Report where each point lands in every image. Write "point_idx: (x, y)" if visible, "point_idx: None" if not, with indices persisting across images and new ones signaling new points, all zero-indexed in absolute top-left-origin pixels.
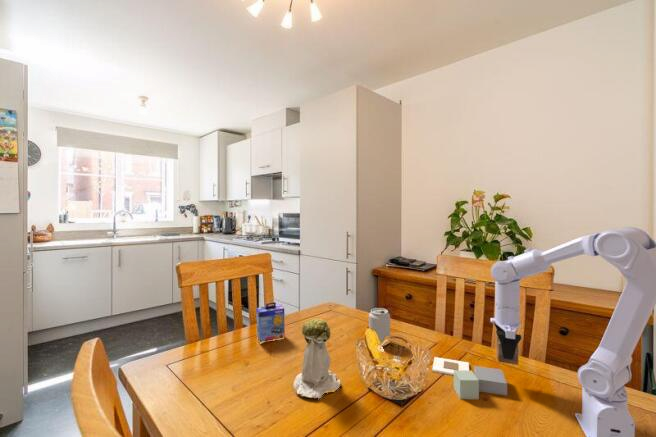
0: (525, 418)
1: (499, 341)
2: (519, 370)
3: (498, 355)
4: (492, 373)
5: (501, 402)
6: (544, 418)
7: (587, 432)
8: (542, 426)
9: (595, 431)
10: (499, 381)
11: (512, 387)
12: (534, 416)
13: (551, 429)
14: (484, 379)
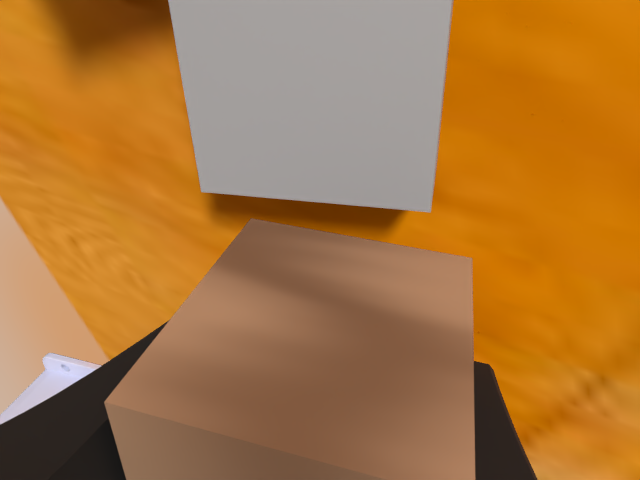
0: (69, 189)
1: (213, 450)
2: (628, 338)
3: (218, 263)
4: (328, 110)
5: (147, 98)
6: (118, 271)
7: (87, 373)
8: (54, 241)
9: (24, 399)
10: (207, 140)
11: (357, 216)
12: (109, 235)
13: (56, 267)
14: (180, 6)
